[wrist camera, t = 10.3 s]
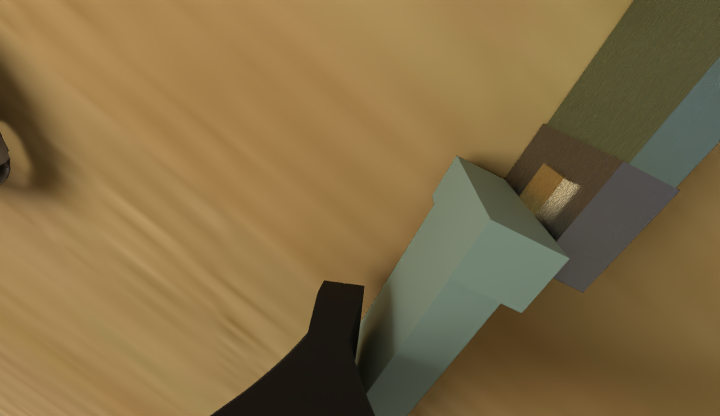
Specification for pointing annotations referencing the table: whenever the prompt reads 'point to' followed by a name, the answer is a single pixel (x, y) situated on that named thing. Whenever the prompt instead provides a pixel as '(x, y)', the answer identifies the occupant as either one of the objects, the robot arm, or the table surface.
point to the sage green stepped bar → (451, 285)
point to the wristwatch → (4, 161)
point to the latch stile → (625, 134)
